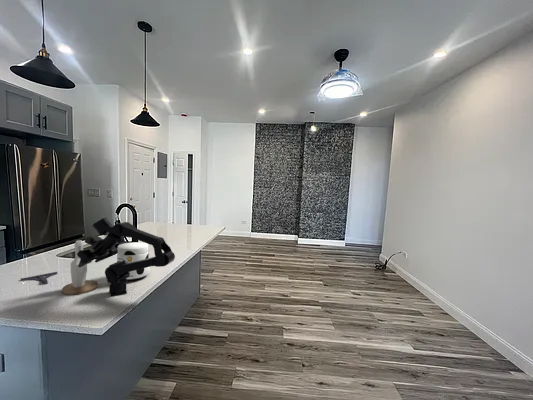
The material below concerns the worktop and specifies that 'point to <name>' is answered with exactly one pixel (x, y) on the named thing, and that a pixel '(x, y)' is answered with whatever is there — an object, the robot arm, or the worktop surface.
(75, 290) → the walnut board
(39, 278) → the bracket
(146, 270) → the milk container
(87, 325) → the worktop surface
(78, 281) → the low poly bottle
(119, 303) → the worktop surface
